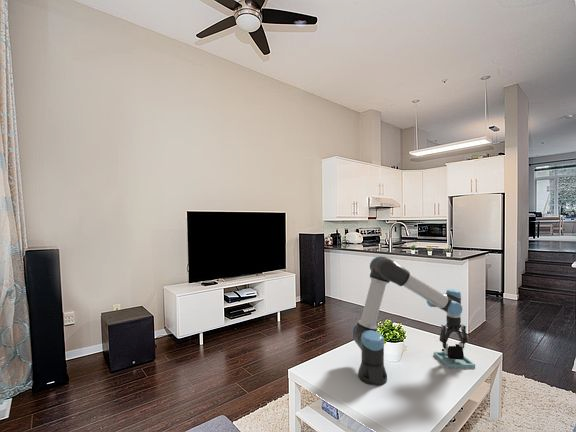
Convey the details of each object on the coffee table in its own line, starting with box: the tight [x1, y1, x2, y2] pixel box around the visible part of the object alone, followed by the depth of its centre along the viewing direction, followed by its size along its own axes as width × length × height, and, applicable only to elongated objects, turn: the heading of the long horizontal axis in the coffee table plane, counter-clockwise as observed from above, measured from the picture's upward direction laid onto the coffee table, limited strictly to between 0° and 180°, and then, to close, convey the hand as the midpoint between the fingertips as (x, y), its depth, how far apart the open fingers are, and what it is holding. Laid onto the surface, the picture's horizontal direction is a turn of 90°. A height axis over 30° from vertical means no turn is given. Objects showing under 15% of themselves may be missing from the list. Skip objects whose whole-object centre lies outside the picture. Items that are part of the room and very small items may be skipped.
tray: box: [433, 351, 476, 369], centre depth 180 cm, size 16×16×2 cm
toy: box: [441, 343, 465, 360], centre depth 182 cm, size 9×8×15 cm
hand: (453, 353), depth 180 cm, fingers closed on toy, 9 cm apart
